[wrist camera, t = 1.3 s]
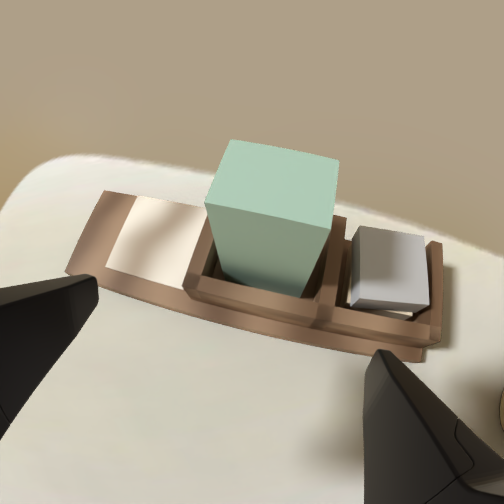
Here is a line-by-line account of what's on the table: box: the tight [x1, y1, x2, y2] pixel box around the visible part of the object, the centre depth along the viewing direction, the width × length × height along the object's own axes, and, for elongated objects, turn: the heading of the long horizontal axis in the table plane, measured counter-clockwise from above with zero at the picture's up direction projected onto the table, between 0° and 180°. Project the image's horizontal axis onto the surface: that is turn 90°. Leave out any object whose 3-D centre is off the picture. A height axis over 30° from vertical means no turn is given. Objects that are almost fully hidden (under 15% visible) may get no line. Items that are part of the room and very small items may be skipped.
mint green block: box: [204, 139, 339, 298], centre depth 18 cm, size 6×4×10 cm
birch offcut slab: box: [340, 243, 413, 320], centre depth 21 cm, size 5×5×2 cm
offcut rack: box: [65, 190, 443, 363], centre depth 22 cm, size 30×8×4 cm, turn 76°
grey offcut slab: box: [350, 226, 429, 313], centre depth 19 cm, size 5×5×2 cm
